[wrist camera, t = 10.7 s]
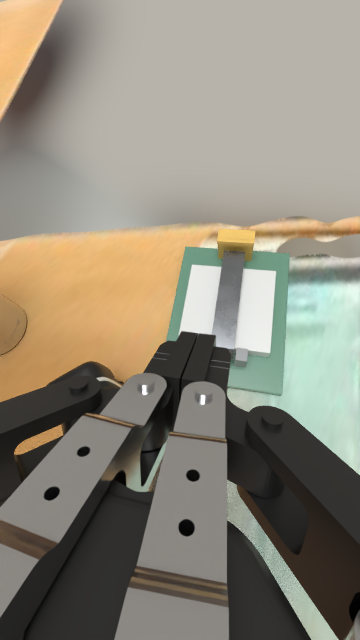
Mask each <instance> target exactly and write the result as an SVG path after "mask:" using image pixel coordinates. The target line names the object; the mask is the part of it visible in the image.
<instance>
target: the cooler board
mask: <svg viewBox="0 0 360 640" xmlns="http://www.w3.org/2000/svg"><path fill="white" fill-rule="evenodd" d="M254 238H255V231H248V230H229V229H219V233H218V239H217V244H218V249H212V248H197V247H185V252H184V257H183V262H182V267H181V272H180V276H179V281H178V286H177V291H176V296H175V301H174V306H173V311H172V315H171V320H170V325H169V330H168V335H167V340H166V341H168V340H169V341H176V340H177V338H178V336H179V335H180V333H181V331H186V332H194V333H198V334H199V333H202V334H211V335H212V329H213V323H214V316H215V309H216V302H217V295H218V288H219V282H220V275H221V268H222V261H223V254H224V250H227V251H242V252H245V259H244V267H243V276H242V284H241V293H240V302H239V310H238V319H237V327H236V336H235V344H234V353H233V360H231V363H230V372H229V380H228V387H229V388H236V389H242V390H249V391H255V392H261V393H268V394H274V395H282V385H283V367H284V348H285V329H286V310H287V291H288V272H289V254H287V253H272V252H257V251H253V246H254Z"/></svg>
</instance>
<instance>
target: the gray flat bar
mask: <svg viewBox="0 0 360 640" xmlns="http://www.w3.org/2000/svg"><path fill="white" fill-rule="evenodd" d="M244 259H245V252H242V251H227V250H224V254H223V261H222V268H221V275H220V282H219V288H218V295H217V302H216V309H215V316H214V323H213V329H212V335H216V347H223V348H227V349H228V350H229V352H230V353H231V360H233V353H234V344H235V336H236V327H237V319H238V310H239V302H240V293H241V284H242V276H243V267H244Z"/></svg>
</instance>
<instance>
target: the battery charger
mask: <svg viewBox="0 0 360 640" xmlns="http://www.w3.org/2000/svg"><path fill="white" fill-rule="evenodd" d="M76 376H92V377H95V378H96V379H98V380H99V381H100V383H101V389H116V388H121V387H122V386H123V385H124V384H125V383H123V382H119V381H117V380H116V379H115V378H114V376H113V374H112V372H111V371H110V370H109V369H108V368H107V367H105V366H103V365H102V364H100V363H97V362H93V361H90V362H86V363H84V364H82V365H80V366H78V367H76V368H74V369H73V370H71V371H69V372H67V373H66V374H64V375H62V376H60V377H59V378H57V379H55V380H54V381H52V382H50V383H49V384H48V385H47V386H49V385H52V384H55V383H58V382H61V381H63V380H66V379H69V378H72V377H76Z"/></svg>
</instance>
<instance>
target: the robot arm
mask: <svg viewBox="0 0 360 640" xmlns="http://www.w3.org/2000/svg"><path fill="white" fill-rule="evenodd" d="M26 325H27V319H26V314H25V312H24V311H23V309H22V308H21V307H19V306H18V305H17V304H15V303H14V302H12V301H11V300H9V299H8V298H6V297H5V296H3V295H2V294H0V355H1V354H4V353H6V352H8V351H10V350H11V349H12V348H14V347H15V346H16V345H17V344H18V342H19V341H20V340H21V338H22V337H23V335H24V332H25V329H26ZM230 363H231V353H230V352H229V350H228V349H227V348H223V347H216V335H211V334H202V333H199V334H198V333H194V332H186V331H181V333H180V335H179V336H178V338H177V340H176V341H169V340H168V341H166V342H165V343H163V344H161V345H160V346H159V348H158V350H157V351H156V353H155V354H154V356H153V358H152V359H151V361H150V363H149V364H148V366H147V367H146V369H145V371H144V372H143V373H142V374H137V375H134V376H132V377H131V378H129V379H128V380H127V381H126V383H125V384H124V385H123V386H122V387H121V388H116V389H101V383H100V381H99V380H98V379H96V378H95V377H92V376H76V377H72V378H69V379H66V380H63V381H61V382H58V383H55V384H52V385H49V386H46V387H43V388H40V389H38V390H35V391H32V392H29V393H26V394H23V395H20V396H17V397H15V398H12V399H9V400H6V401H3V402H0V640H311V638H310V637H309V635H308V633H307V632H306V630H305V628H304V627H303V625H302V623H301V622H300V620H299V618H298V617H297V615H296V613H295V612H294V610H293V608H292V607H291V605H290V603H289V601H288V600H287V598H286V596H285V595H284V593H283V591H282V590H281V588H280V586H279V585H278V583H277V581H276V580H275V578H274V576H273V575H272V573H271V571H270V570H269V568H268V566H267V564H266V563H265V561H264V559H263V558H262V556H261V555H260V553H259V552H258V550H257V549H256V548H255V546H254V545H253V544H252V542H251V541H250V540H249V539H248V538H247V537H246V536H245V535H244V534H243V533H242V532H241V531H240V530H239V529H238V528H237V527H235V526H234V525H233V524H232V523H230V522H229V521H227V480H229V481H231V482H233V483H235V484H237V490H238V493H239V495H240V497H241V498H242V500H243V501H244V503H245V504H246V506H247V507H248V508H249V510H250V511H251V513H252V514H253V516H254V517H255V519H256V520H257V522H258V523H259V524H260V526H261V527H262V529H263V530H264V532H265V533H266V535H267V536H268V538H269V539H270V540H271V542H272V543H273V545H274V546H275V548H276V549H277V551H278V552H279V554H280V555H281V556H282V558H283V559H284V561H285V562H286V564H287V565H288V567H289V568H290V569H291V571H292V572H293V574H294V575H295V577H296V578H297V580H298V581H299V583H300V584H301V585H302V587H303V588H304V590H305V591H306V593H307V594H308V596H309V597H310V599H311V600H312V601H313V603H314V604H315V606H316V607H317V609H318V610H319V612H320V613H321V615H322V616H323V617H324V619H325V620H326V622H327V623H328V625H329V626H330V628H331V629H332V630H333V632H334V633H335V635H336V636H337V638H338V639H339V640H360V475H359V474H358V473H356V472H355V471H354V470H353V469H352V468H351V467H349V466H348V465H347V464H346V463H345V462H344V461H343V460H341V459H340V458H339V457H338V456H337V455H336V454H334V453H333V452H332V451H331V450H330V449H329V448H327V447H326V446H325V445H324V444H323V443H322V442H321V441H319V440H318V439H317V438H316V437H315V436H314V435H312V434H311V433H310V432H309V431H308V430H307V429H306V428H304V427H303V426H302V425H301V424H300V423H299V422H297V421H296V420H295V419H294V418H293V417H292V416H291V415H289V414H288V413H287V412H285V411H283V410H281V409H279V408H276V407H272V406H258V407H255V408H253V409H252V410H250V411H249V412H247V411H244V410H242V409H240V408H238V407H236V406H235V405H234V404H232V403H231V402H230V400H229V399H228V397H227V389H228V380H229V372H230ZM61 424H62V430H63V436H61V437H59V438H57V439H55V440H52V441H50V442H48V443H46V444H44V445H42V446H39V447H37V448H35V449H33V450H31V451H28V452H26V453H24V454H21V455H14V451H15V449H16V447H17V446H18V445H19V444H20V443H21V442H22V441H24V440H26V439H28V438H31V437H33V436H35V435H37V434H40V433H42V432H44V431H47V430H49V429H51V428H54V427H56V426H58V425H61ZM167 438H168V440H167ZM166 441H167V444H166ZM163 455H164V456H163ZM162 457H163V460H162V464H161V468H160V472H159V476H158V480H157V484H156V489H155V492H147V491H148V489H149V486H150V484H151V482H152V480H153V477H154V475H155V473H156V471H157V468H158V466H159V464H160V461H161V459H162Z"/></svg>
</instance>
